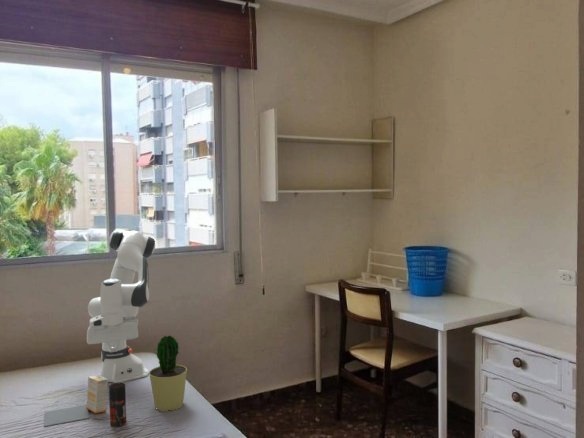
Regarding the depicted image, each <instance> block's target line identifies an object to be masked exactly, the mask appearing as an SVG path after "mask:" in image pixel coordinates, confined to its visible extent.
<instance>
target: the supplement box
mask: <svg viewBox="0 0 584 438" xmlns="http://www.w3.org/2000/svg"><path fill="white" fill-rule="evenodd" d="M108 383H109V382H108V379H106V378H104V377H102V376H101V374H97V375H90V376H88V378H87V390H86V392H87V395H86V405H87V407H86V408H87V409H88V411H91V412H92V413H93V414H99V413H103V412H107V399H108V398H107V396H108Z"/></svg>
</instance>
